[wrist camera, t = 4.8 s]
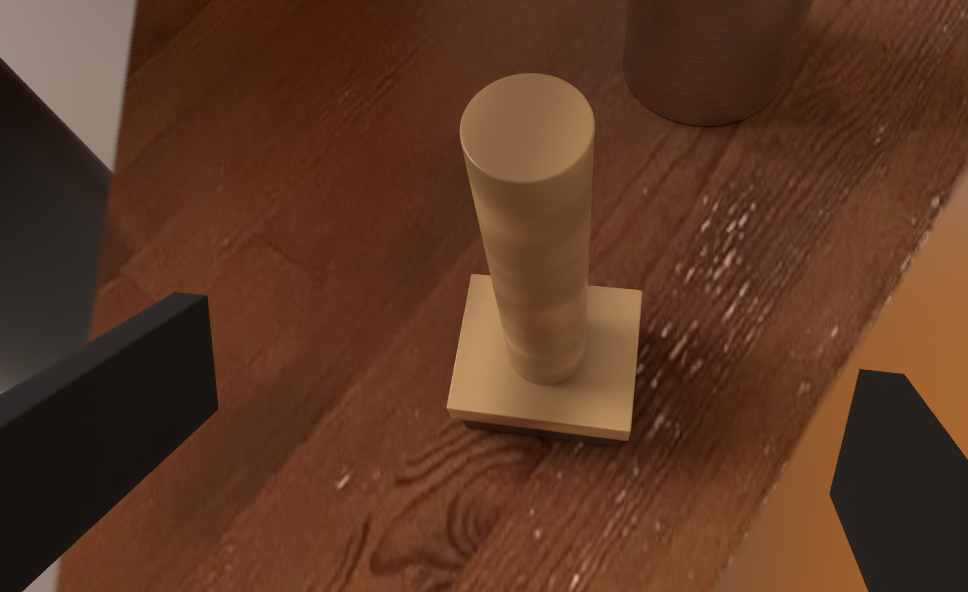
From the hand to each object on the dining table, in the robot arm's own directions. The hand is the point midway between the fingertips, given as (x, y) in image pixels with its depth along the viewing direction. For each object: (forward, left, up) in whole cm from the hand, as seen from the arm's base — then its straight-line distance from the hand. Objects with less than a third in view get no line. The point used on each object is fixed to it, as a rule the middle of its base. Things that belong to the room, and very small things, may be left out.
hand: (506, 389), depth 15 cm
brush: (-2, +4, -12) cm, 13 cm away
